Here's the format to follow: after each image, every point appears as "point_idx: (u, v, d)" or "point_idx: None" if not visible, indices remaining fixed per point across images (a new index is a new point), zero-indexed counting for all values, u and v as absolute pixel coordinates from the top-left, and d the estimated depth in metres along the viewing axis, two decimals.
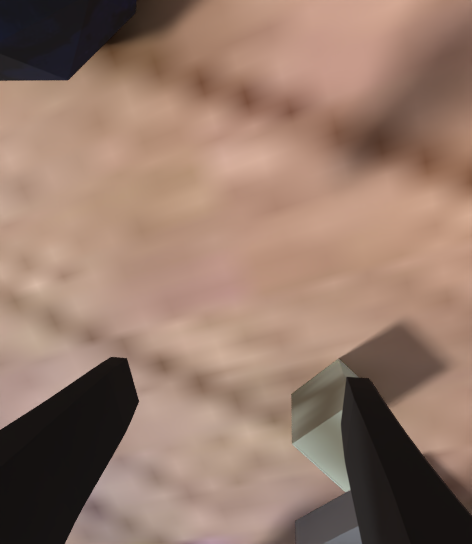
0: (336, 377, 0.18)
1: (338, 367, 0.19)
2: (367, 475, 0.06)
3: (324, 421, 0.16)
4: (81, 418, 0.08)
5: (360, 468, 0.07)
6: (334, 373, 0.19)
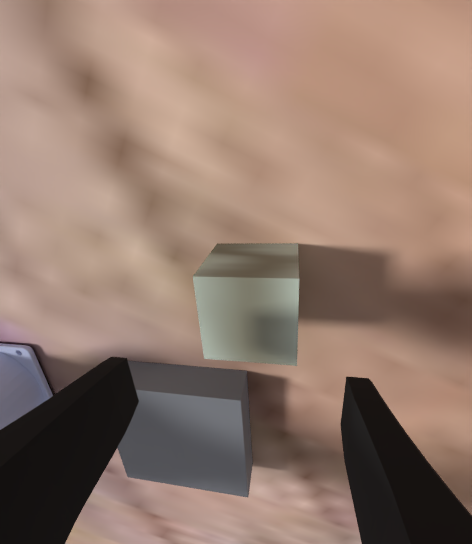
0: (287, 254, 0.14)
1: (295, 248, 0.15)
2: (367, 475, 0.06)
3: (251, 277, 0.12)
4: (81, 418, 0.08)
5: (360, 468, 0.07)
6: (286, 250, 0.15)
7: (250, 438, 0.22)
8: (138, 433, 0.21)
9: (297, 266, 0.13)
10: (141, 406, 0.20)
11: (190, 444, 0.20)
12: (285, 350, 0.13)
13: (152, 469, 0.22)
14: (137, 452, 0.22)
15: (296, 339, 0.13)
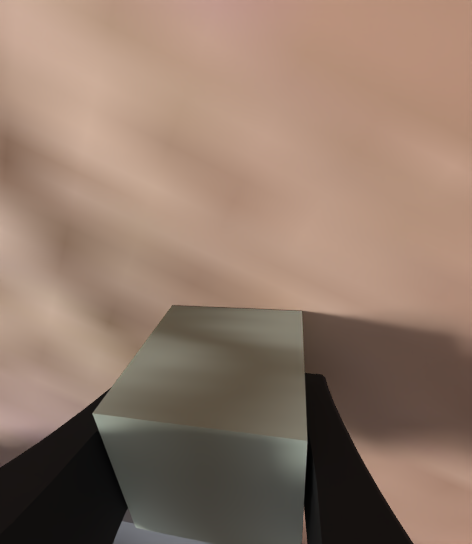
0: (284, 343, 0.08)
1: (297, 328, 0.08)
2: (307, 466, 0.07)
3: (207, 426, 0.06)
4: None
5: None
6: (282, 333, 0.08)
7: None
8: None
9: (302, 387, 0.06)
10: None
11: None
12: (279, 539, 0.07)
13: None
14: None
15: (300, 528, 0.07)
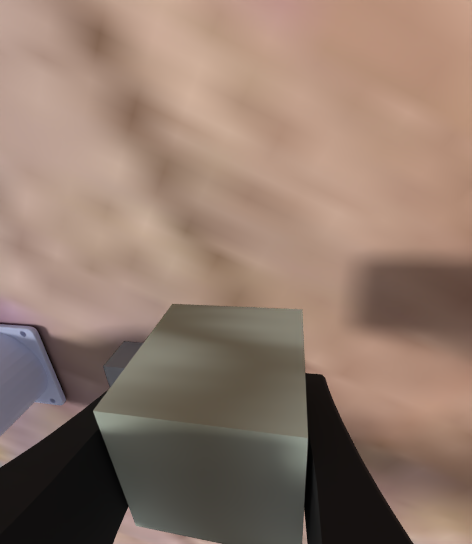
0: (284, 342, 0.08)
1: (298, 326, 0.08)
2: (307, 466, 0.07)
3: (207, 424, 0.06)
4: None
5: None
6: (282, 331, 0.08)
7: None
8: None
9: (303, 385, 0.06)
10: None
11: None
12: (279, 537, 0.07)
13: None
14: None
15: (300, 526, 0.07)
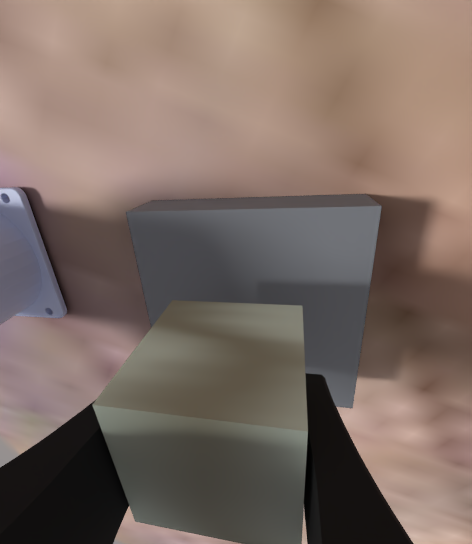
0: (284, 337, 0.08)
1: (297, 322, 0.08)
2: (307, 466, 0.07)
3: (207, 417, 0.06)
4: None
5: None
6: (282, 326, 0.08)
7: None
8: None
9: (303, 379, 0.06)
10: (198, 246, 0.12)
11: None
12: (279, 532, 0.07)
13: None
14: None
15: (300, 521, 0.07)
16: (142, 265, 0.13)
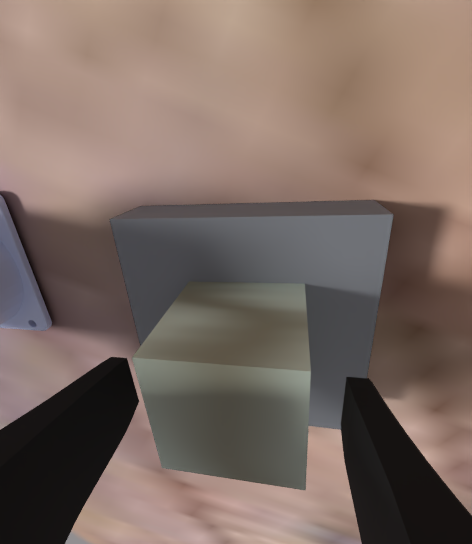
0: (289, 307, 0.09)
1: (301, 296, 0.10)
2: (367, 475, 0.06)
3: (228, 364, 0.07)
4: (81, 418, 0.08)
5: (360, 468, 0.07)
6: (287, 299, 0.10)
7: None
8: None
9: (306, 337, 0.08)
10: (189, 257, 0.11)
11: None
12: (287, 469, 0.08)
13: None
14: None
15: (305, 456, 0.08)
16: (129, 277, 0.12)
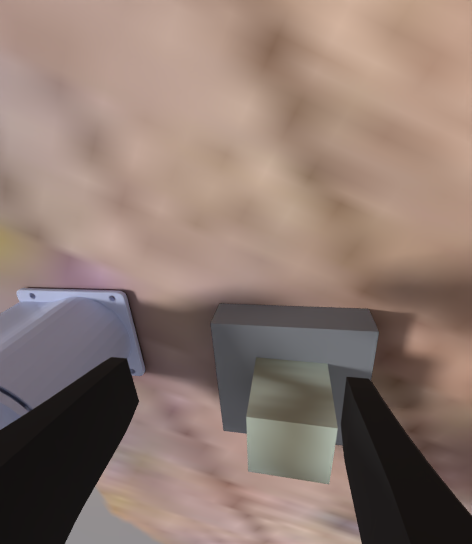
0: (321, 384, 0.17)
1: (326, 374, 0.17)
2: (367, 475, 0.06)
3: (297, 422, 0.14)
4: (81, 418, 0.08)
5: (360, 468, 0.07)
6: (319, 377, 0.17)
7: None
8: (247, 378, 0.20)
9: (333, 406, 0.15)
10: (258, 345, 0.18)
11: None
12: (320, 473, 0.16)
13: None
14: (241, 400, 0.21)
15: (330, 466, 0.15)
16: (217, 354, 0.19)
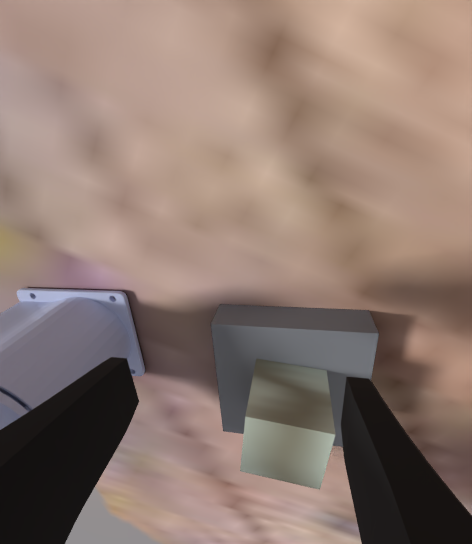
0: (320, 390, 0.17)
1: (325, 381, 0.17)
2: (367, 475, 0.06)
3: (295, 426, 0.14)
4: (81, 418, 0.08)
5: (360, 468, 0.07)
6: (318, 383, 0.17)
7: None
8: (247, 379, 0.20)
9: (331, 413, 0.15)
10: (258, 346, 0.18)
11: None
12: (312, 478, 0.16)
13: None
14: (241, 401, 0.21)
15: (323, 472, 0.15)
16: (217, 354, 0.19)
